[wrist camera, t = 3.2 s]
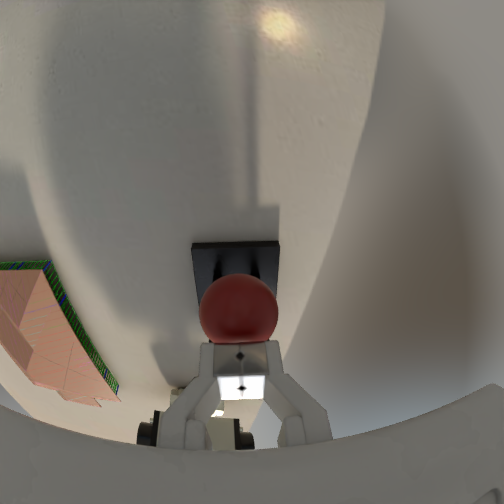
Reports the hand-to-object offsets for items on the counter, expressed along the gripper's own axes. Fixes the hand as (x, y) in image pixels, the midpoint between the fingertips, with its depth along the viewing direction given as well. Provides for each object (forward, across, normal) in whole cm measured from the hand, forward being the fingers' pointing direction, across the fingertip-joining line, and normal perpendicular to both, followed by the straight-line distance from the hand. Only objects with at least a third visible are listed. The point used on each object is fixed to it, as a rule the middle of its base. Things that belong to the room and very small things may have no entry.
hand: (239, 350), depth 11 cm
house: (+19, +34, +23) cm, 45 cm away
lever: (+6, 0, +5) cm, 8 cm away
